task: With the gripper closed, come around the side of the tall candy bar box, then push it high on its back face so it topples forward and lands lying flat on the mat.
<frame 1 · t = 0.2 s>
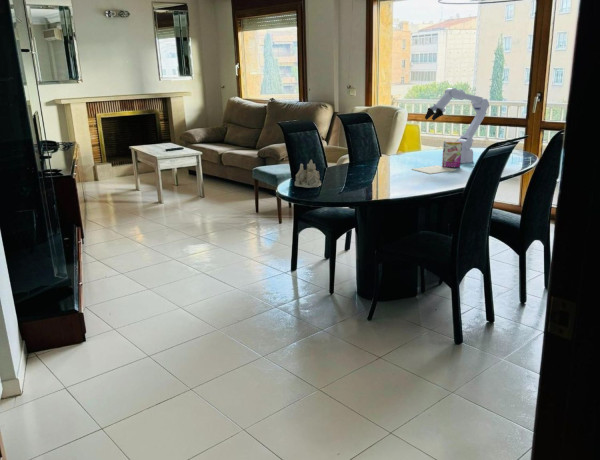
hand: (429, 119, 352), 31 cm above the table, fingers open, 7 cm apart
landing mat: (433, 169, 351), on the table
white castle figurine: (307, 185, 329), on the table
candy bar box: (450, 167, 355), on the table, touching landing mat
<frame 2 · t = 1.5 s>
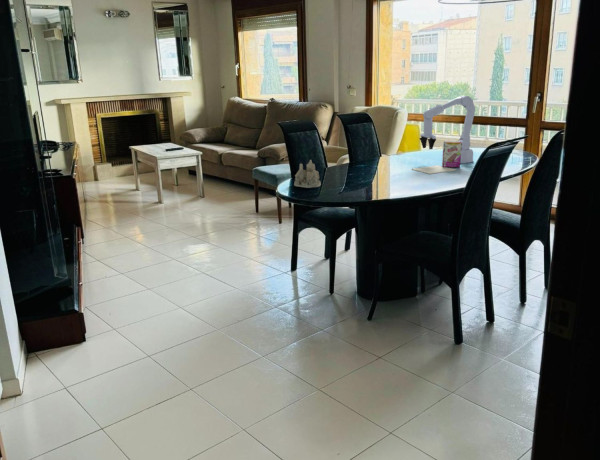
hand: (427, 148, 369), 11 cm above the table, fingers open, 7 cm apart
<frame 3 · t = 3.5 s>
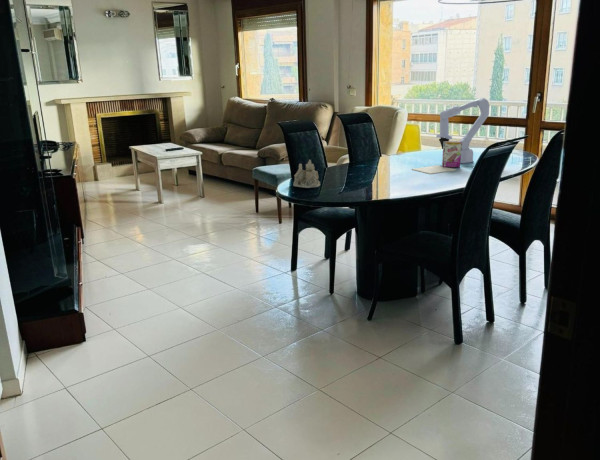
hand: (443, 148, 371), 9 cm above the table, fingers closed
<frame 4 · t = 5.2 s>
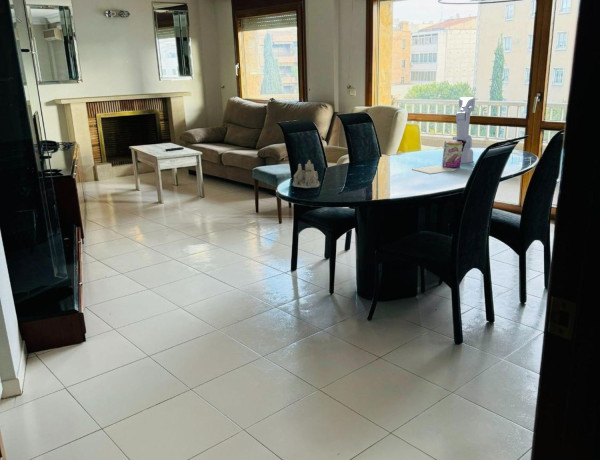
hand: (460, 151, 356), 9 cm above the table, fingers closed
candy bar box: (451, 166, 355), on the table, touching gripper, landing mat
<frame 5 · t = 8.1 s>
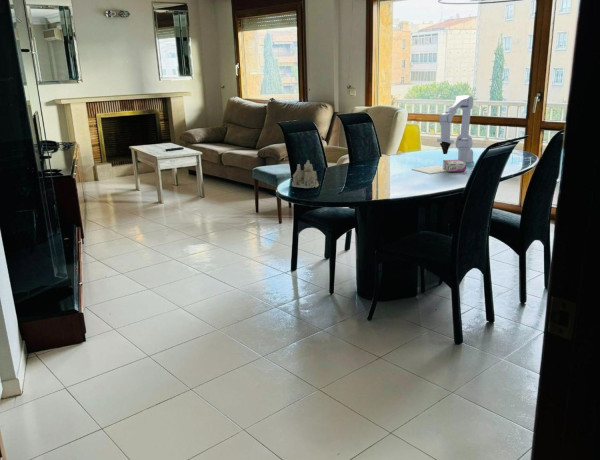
hand: (445, 153, 351), 9 cm above the table, fingers closed
candy bar box: (451, 163, 353), point 3 cm above the table, touching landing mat
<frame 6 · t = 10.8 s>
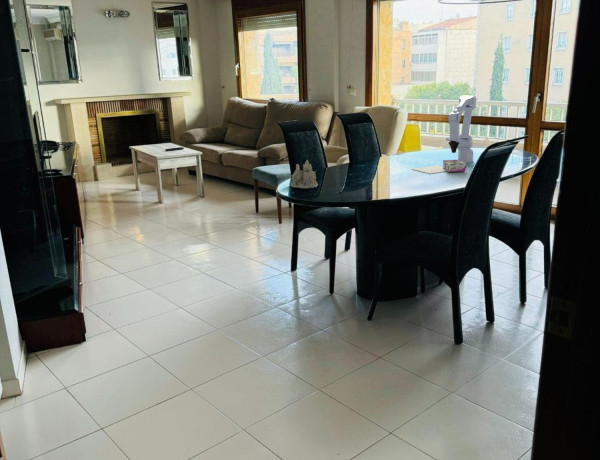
hand: (453, 152, 354), 9 cm above the table, fingers closed
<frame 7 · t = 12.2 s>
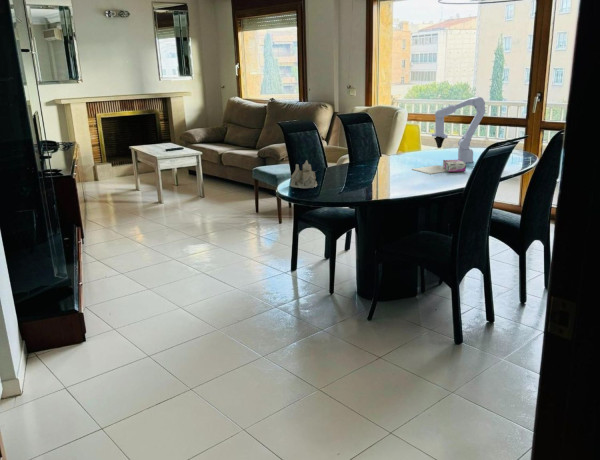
hand: (439, 147, 370), 10 cm above the table, fingers closed
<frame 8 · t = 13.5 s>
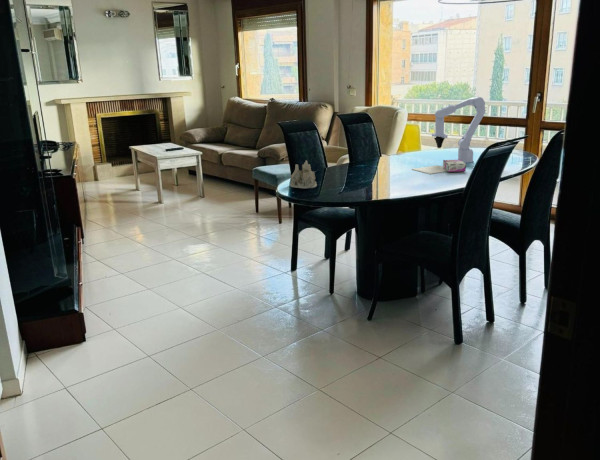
hand: (439, 147, 370), 10 cm above the table, fingers closed
at the end: candy bar box tilted 90°; candy bar box inside the target area (5.4 cm from its centre), point 2.9 cm above the table; candy bar box touching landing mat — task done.
